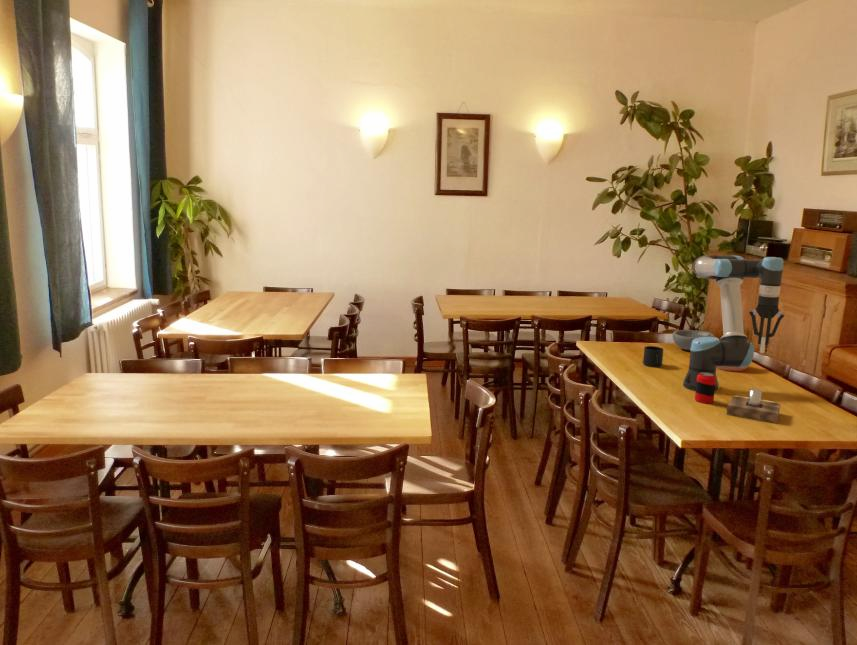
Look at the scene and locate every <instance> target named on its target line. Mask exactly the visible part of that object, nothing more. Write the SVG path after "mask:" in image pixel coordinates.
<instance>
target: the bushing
mask: <svg viewBox="0 0 857 645" xmlns="http://www.w3.org/2000/svg"><path fill="white" fill-rule="evenodd" d="M762 393H763V391H762V390H761V389H757V388H750V389H749V393H748V394H749V395H748V397H749V401H748V406H753V407H759V408H760V403H761V400H762V395H763V394H762Z"/></svg>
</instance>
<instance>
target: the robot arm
mask: <svg viewBox="0 0 857 645" xmlns="http://www.w3.org/2000/svg"><path fill="white" fill-rule="evenodd" d="M692 271H693V273H694V274H695V276H697V277H699V278H701V279H706V280H715V284H716V286H718V287H719V292H720V306H721V319H722V320H721V321H722V333H723V335H722V336H721V337H720V338H718V337H716V336H715V337H699V338H696V339H694V340H693V341H692V344H691V348H690V350H691V351H690V352H689V353H690V354H689V361H688V362H689V364H688V371H687V373H686V375H685V377H684V379H683V383H682V385H683V387H684V388H686V389H689V390H692V391H696V381H697V376H698V375H699V374H700V373H703V372H705V373H711V374H714V376H715V377H716V384H715V392H717V391H718V390H719V387H720V386H719V385H720V384H719V381H718V377H717V368H716V367H717V366H723V367H737V368H738V367H747V368H748V367H749V366H750V365H751V363H752V362H753V359H754V355H755V346H754V343H753V342H752V341H749V337H748V335H746V334H745V332H744V319H743V307H742V296H741V285H742V284H743V283H744V280H745V279H746V278H747V279H750V278H752V279H760V280H759V290H758V294H759V295H758V297H757V298H758V299H757V305H756V307H755V309H753V310H749V315H750V317H751V321H752V328H753V330H752V331H753V334H754V335H755V336H757V337H758V340H757V344H758V345H760V346H759V348H760V349H759V353H760V354H765V351H766V346H768V345H769V342H770V338H771V337H774V336H775V334H776V332H777V331H778V330H777V329H778V327H779V325H780V324H781V320H782V319H783V318H784V317H785V313H782V312H781V311H780V309H779V302H780V297H779V296H780V293H781V286H782V279H783V271H784V259H783V258H782V257H776V256H766V257H763V258H762V259H761V258H760V259H759V258H757V259H756V258H755V259H745V258H744V257H743V256H741V255H734V254H730V255H729V254H727V255H724V254H705V255H701V256H699V257H697V258H695V260H694V261H693V263H692ZM757 314H758V316H759V317H760V321H759V322H760V323H759V329H758V323H757V316H756V315H757ZM776 315H777V319H776V321H775V324H774V327H773V329H772V332H771V326H772V319H773V318H774V317H775V316H776ZM766 319H767V323H766V329H765V330H766V331H765V336H764V335H763V334H764V325H765V320H766Z"/></svg>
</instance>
